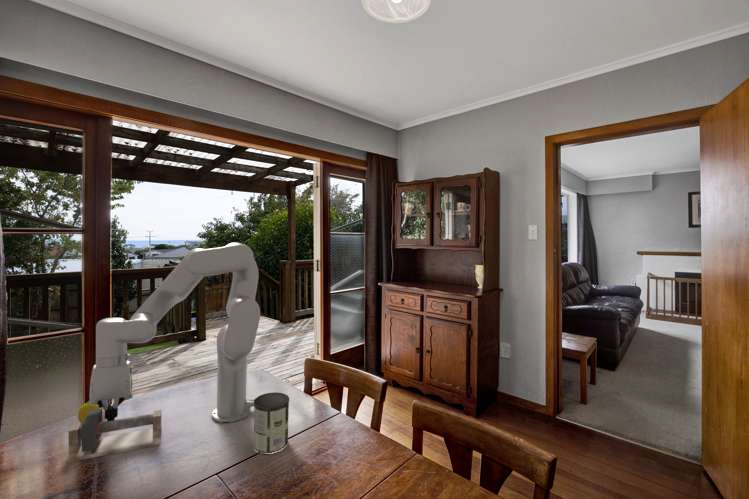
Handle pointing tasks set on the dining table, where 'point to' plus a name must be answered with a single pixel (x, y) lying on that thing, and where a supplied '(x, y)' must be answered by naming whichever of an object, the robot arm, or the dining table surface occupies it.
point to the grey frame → (91, 430)
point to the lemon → (86, 411)
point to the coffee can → (271, 422)
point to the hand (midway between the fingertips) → (111, 420)
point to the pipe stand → (117, 436)
